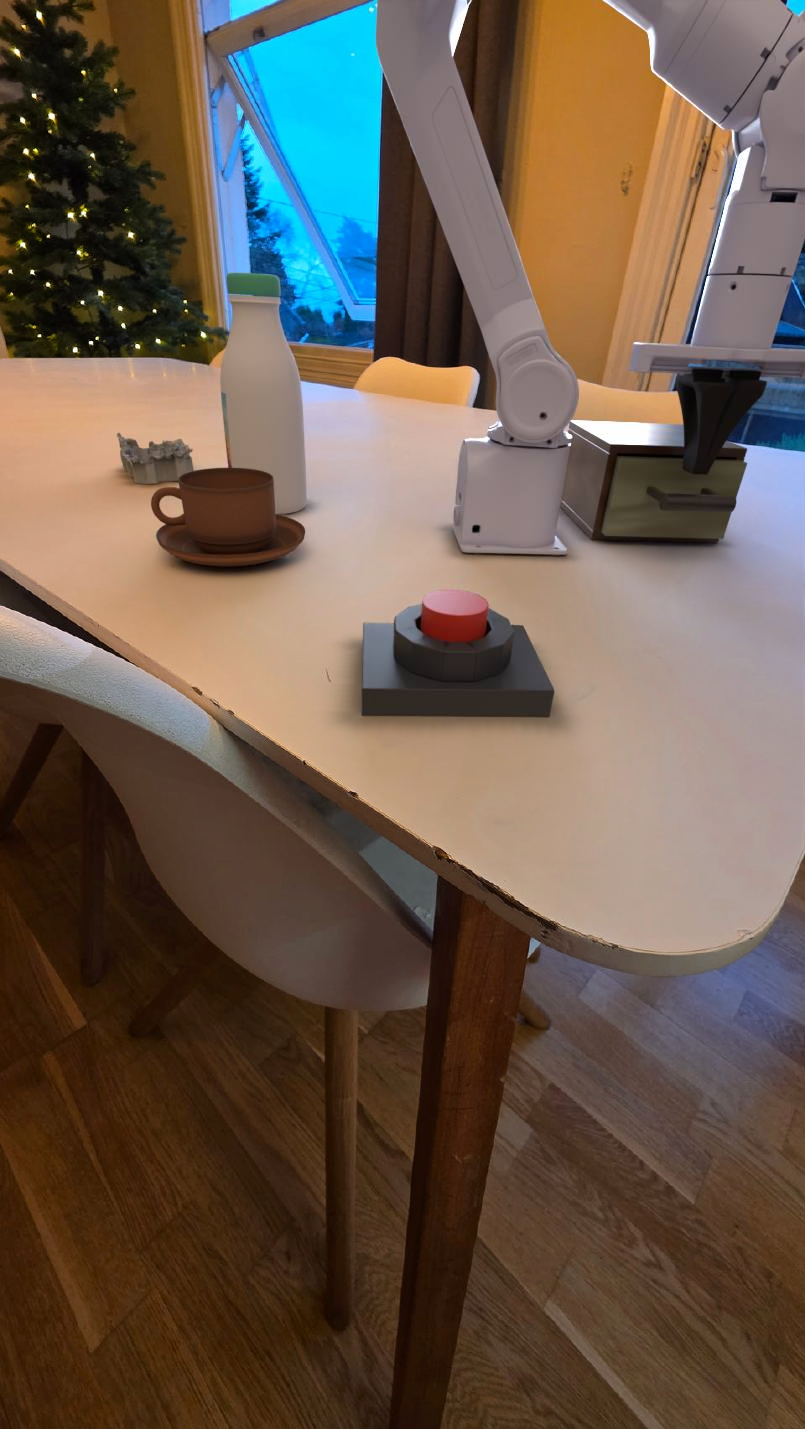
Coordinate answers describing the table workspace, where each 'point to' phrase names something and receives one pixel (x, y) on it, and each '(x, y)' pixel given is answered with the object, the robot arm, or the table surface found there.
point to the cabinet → (597, 460)
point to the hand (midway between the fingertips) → (694, 472)
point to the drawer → (670, 497)
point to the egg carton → (155, 460)
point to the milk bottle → (263, 391)
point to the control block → (452, 671)
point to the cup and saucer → (226, 519)
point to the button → (454, 615)
